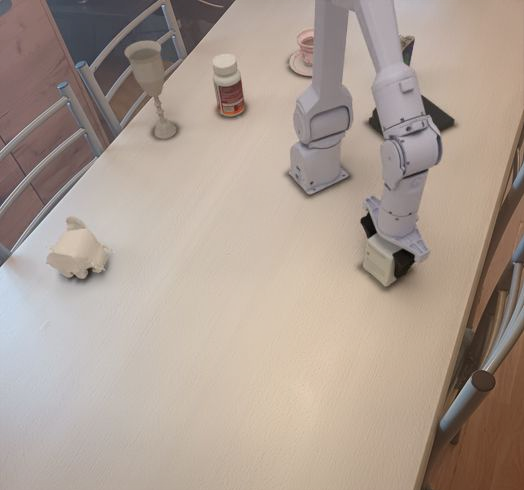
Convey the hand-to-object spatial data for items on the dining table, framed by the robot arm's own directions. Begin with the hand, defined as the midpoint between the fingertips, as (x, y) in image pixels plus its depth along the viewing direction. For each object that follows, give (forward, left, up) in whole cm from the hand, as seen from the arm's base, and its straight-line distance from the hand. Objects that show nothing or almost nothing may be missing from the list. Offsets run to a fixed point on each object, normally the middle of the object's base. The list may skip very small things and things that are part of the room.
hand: (387, 261), depth 87 cm
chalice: (-17, +59, -2) cm, 61 cm away
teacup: (+24, +61, -2) cm, 66 cm away
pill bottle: (-1, +57, -2) cm, 57 cm away
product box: (0, 0, -2) cm, 2 cm away
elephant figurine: (-46, +31, -2) cm, 56 cm away
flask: (+34, +42, -2) cm, 54 cm away
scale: (+28, +29, -2) cm, 40 cm away
